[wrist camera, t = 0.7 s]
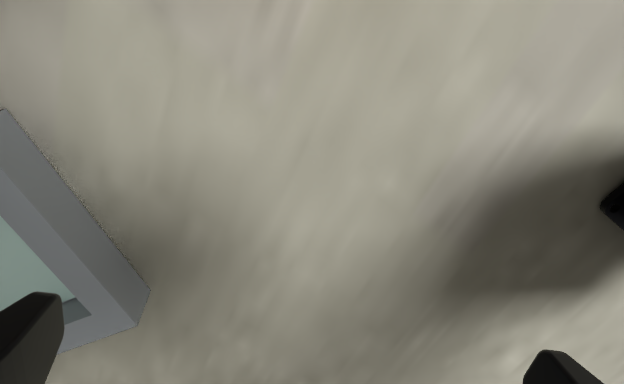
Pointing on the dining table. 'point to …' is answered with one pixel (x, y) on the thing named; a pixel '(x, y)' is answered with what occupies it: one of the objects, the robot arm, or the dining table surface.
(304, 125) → the dining table surface
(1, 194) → the socket
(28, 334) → the robot arm
